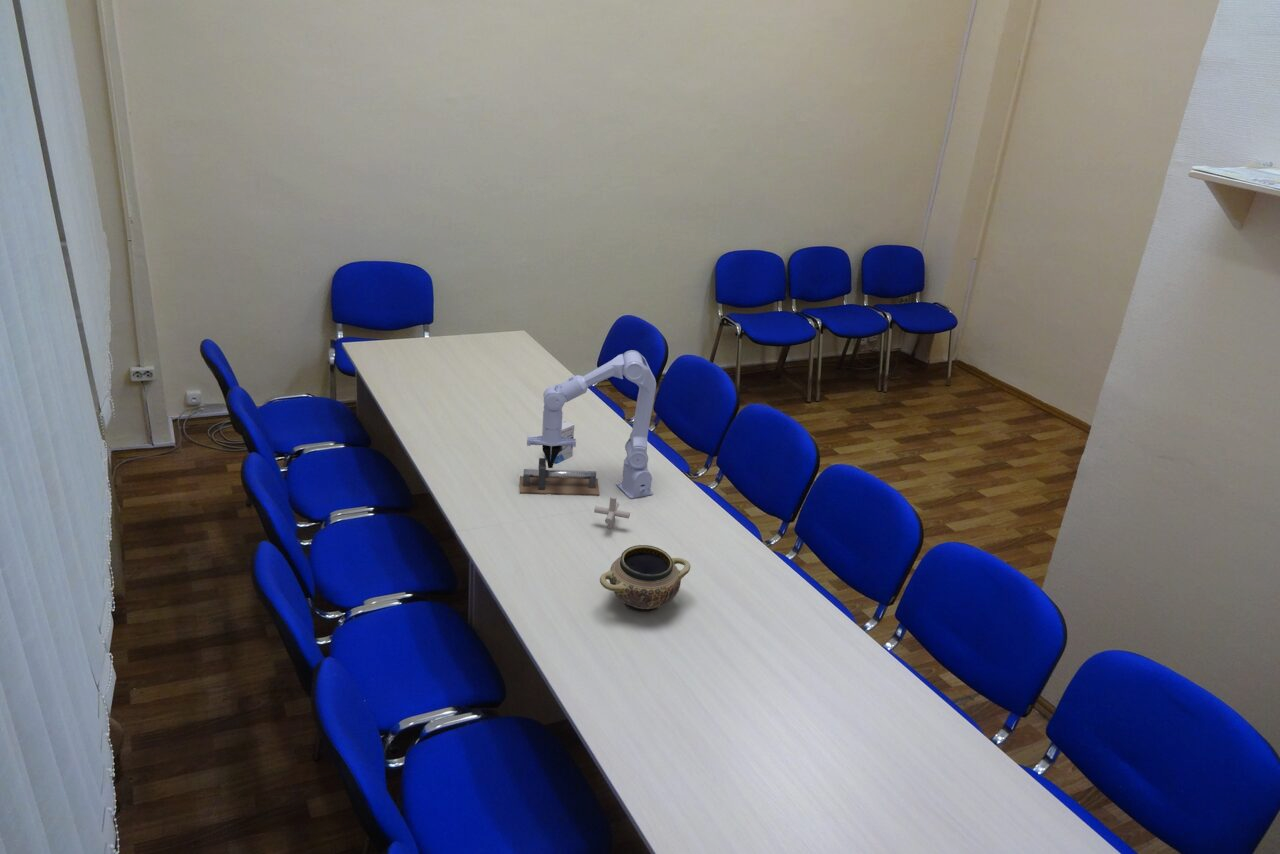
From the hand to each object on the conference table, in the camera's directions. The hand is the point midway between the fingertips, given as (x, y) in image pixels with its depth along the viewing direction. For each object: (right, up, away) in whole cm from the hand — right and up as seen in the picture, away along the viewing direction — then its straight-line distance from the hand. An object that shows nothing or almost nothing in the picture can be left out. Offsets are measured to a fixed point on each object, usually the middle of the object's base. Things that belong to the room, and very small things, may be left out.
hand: (550, 466), depth 280 cm
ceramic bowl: (+28, -32, -47) cm, 64 cm away
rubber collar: (-3, -6, +3) cm, 7 cm away
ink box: (+1, +2, +21) cm, 21 cm away
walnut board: (+2, -6, +3) cm, 8 cm away
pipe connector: (+19, -17, -16) cm, 30 cm away
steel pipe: (+2, -6, +3) cm, 8 cm away
